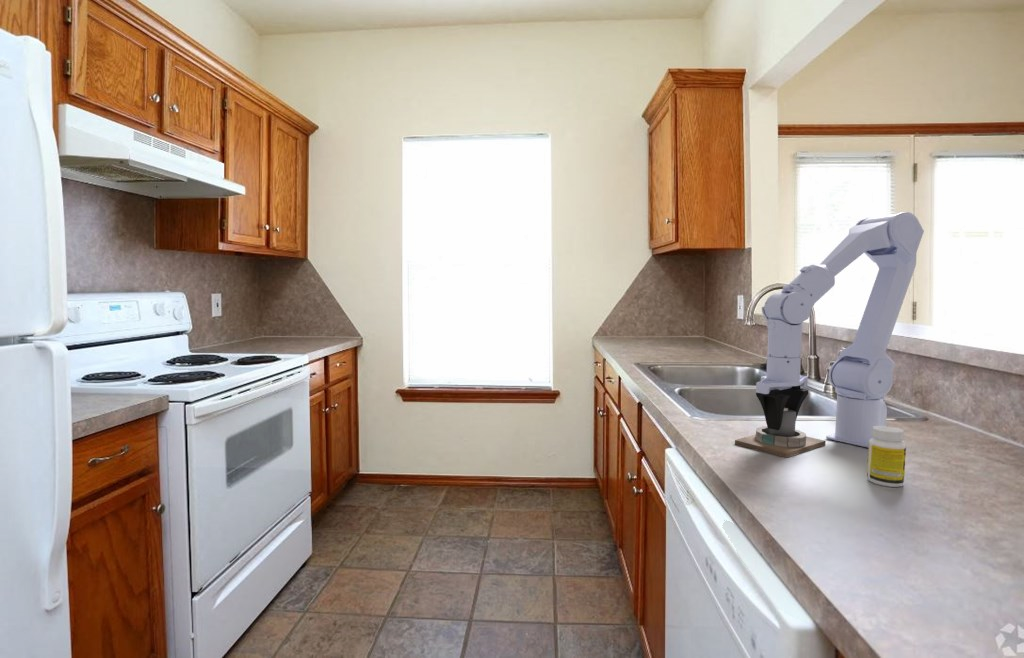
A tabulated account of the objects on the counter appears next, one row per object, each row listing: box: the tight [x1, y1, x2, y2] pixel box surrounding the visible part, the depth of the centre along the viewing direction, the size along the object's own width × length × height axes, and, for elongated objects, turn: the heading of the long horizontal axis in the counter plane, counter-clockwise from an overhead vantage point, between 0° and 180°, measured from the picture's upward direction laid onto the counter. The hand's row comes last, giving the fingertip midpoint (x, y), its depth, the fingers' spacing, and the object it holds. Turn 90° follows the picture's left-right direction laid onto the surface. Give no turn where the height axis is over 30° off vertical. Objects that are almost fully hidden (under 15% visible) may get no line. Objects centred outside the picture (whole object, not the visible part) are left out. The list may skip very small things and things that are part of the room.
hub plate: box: [734, 425, 827, 458], centre depth 103 cm, size 14×10×2 cm
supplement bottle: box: [866, 425, 907, 488], centre depth 83 cm, size 5×5×8 cm
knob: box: [768, 408, 797, 437], centre depth 103 cm, size 4×4×5 cm
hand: (780, 426), depth 103 cm, fingers closed on knob, 4 cm apart
